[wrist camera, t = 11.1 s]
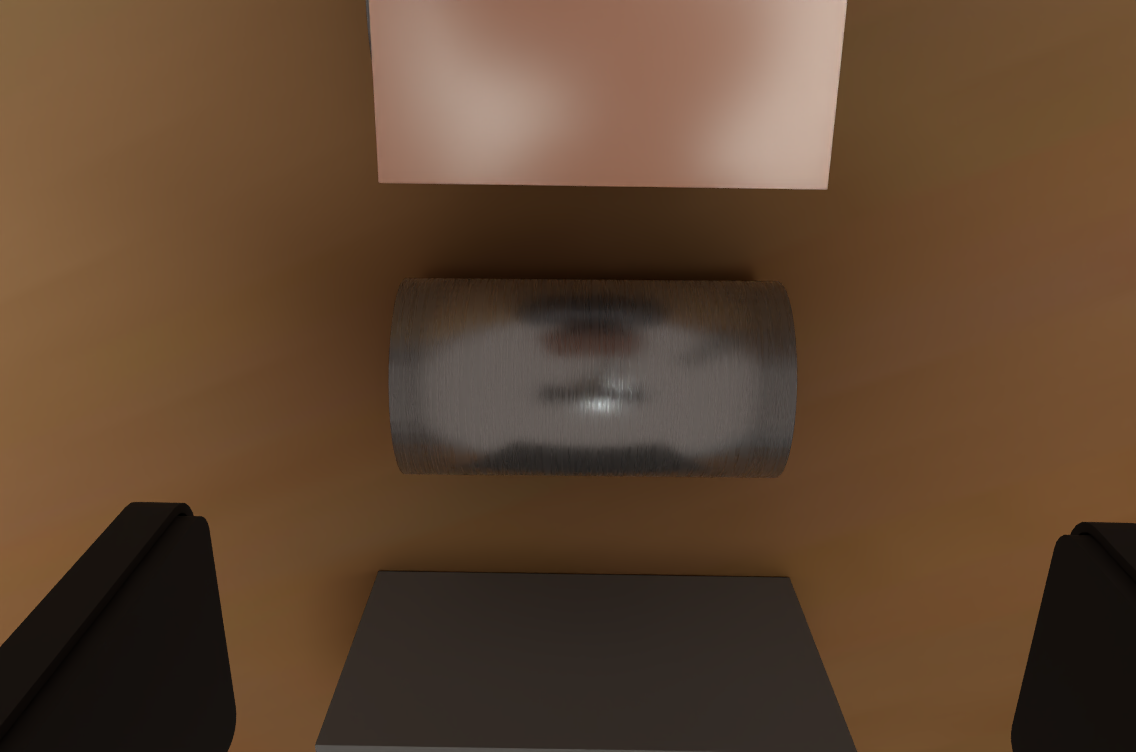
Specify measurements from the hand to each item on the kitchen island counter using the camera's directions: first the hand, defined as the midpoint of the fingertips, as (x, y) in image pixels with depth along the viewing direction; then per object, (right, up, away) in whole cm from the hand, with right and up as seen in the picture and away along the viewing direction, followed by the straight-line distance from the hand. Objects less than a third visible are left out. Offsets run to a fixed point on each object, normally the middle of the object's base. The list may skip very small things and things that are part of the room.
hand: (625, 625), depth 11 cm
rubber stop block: (0, -3, +13) cm, 14 cm away
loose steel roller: (0, +3, +11) cm, 11 cm away
